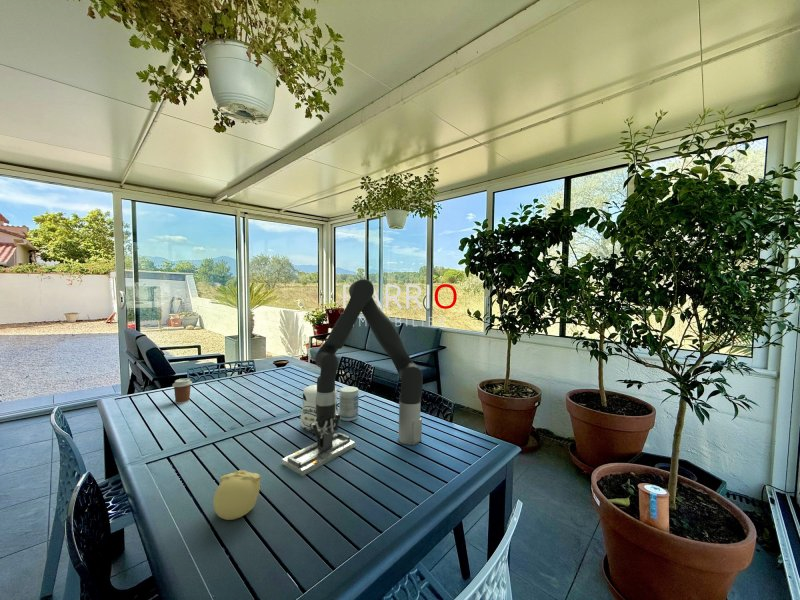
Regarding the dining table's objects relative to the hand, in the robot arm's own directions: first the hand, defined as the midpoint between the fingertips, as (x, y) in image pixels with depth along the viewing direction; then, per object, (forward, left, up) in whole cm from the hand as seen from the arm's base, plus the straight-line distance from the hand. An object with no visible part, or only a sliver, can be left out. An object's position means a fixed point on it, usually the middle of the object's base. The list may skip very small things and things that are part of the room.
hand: (325, 444), depth 125 cm
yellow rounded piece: (-5, +37, -4) cm, 38 cm away
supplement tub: (+17, -30, -4) cm, 35 cm away
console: (0, +2, -3) cm, 4 cm away
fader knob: (0, 0, -1) cm, 1 cm away
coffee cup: (+104, +13, -4) cm, 105 cm away
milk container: (+20, -14, -4) cm, 25 cm away
